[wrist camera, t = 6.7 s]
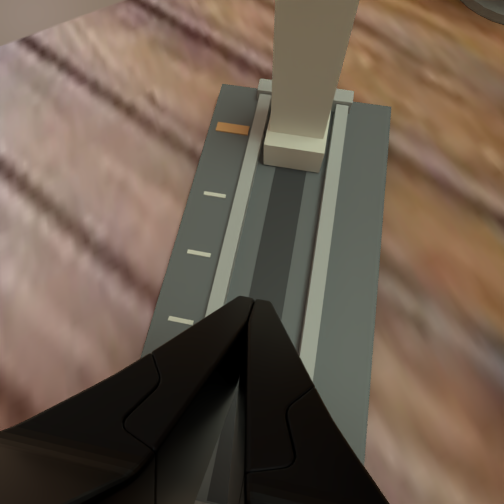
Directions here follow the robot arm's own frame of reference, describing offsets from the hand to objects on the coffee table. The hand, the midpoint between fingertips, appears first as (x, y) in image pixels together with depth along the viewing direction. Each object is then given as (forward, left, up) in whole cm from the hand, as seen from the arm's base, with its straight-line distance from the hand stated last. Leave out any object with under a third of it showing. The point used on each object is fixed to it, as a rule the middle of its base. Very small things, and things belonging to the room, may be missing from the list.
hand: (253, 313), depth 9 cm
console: (+3, +4, -11) cm, 12 cm away
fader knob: (+9, +11, -10) cm, 17 cm away
